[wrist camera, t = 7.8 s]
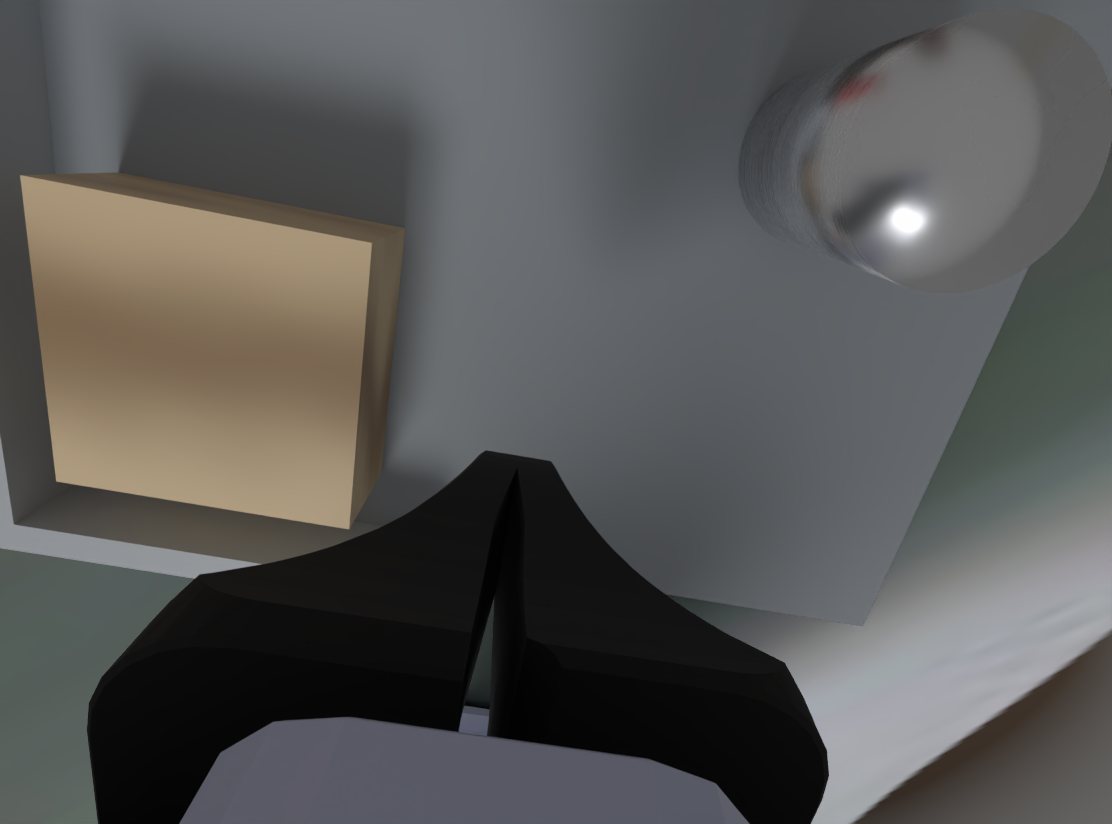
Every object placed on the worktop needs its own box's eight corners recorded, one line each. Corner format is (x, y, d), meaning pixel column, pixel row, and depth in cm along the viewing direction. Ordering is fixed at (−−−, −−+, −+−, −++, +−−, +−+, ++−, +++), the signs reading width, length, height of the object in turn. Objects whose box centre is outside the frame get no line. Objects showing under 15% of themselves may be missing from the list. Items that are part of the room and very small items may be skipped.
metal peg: (870, 260, 16) (1035, 313, 10) (718, 229, 16) (804, 268, 10) (934, 86, 15) (1167, 41, 9) (767, 49, 14) (900, -21, 9)
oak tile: (381, 473, 18) (349, 529, 16) (134, 431, 18) (56, 481, 15) (405, 228, 16) (372, 242, 13) (118, 172, 15) (20, 175, 13)
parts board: (857, 617, 21) (903, 689, 18) (69, 489, 19) (-15, 545, 16) (1148, -22, 14) (1294, -67, 11) (-18, -299, 12) (-183, -431, 10)
